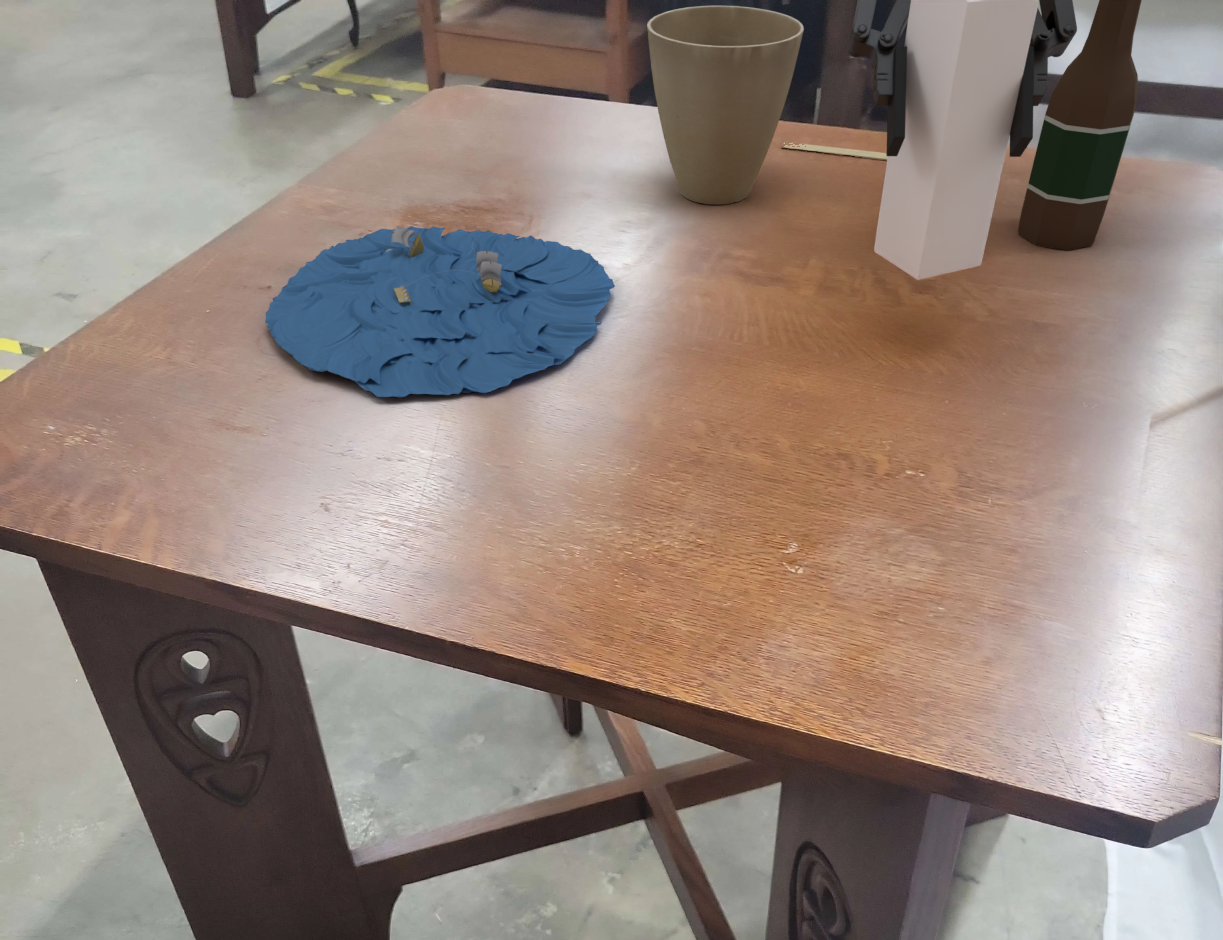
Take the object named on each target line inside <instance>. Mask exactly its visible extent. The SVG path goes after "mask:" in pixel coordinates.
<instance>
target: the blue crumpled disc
mask: <svg viewBox="0 0 1223 940" xmlns="http://www.w3.org/2000/svg"><path fill="white" fill-rule="evenodd" d="M445 229H446V227H437V226H431V227H429V228H427V227H415V226H409V227H404V226H400V225H397V226H396V227H395V228H392V229H391V228H390V229H388V228H380V229H378V230H375V231H374V232H373V231H372V232H371V233H366V234H365V235H364V236H363V237H359V238H354V239H346V240H345V241H344V242H339V243H337V244H336V245H332V246H331V247H329V248H326V249H322V250H321V251H320V252H319V253H318V254H317V255H316V256H315V258H314V259H313V260H309V261H306V262H305V264H304V266H301V267H300V268H299V269H298V270H297V272H296V274H294V275H293V276H291V277H290V278H288V280H287V283H286V284H285V285H284V286H282V288H281V290H280V292H279V293H278V295H277V296H275V297H273V298H272V301H271V302H270V303H269V305H268V306H269V307H268V310H267V311H266V312H265V320H264V322H265V323H266V325H267V330H268V331H269V332H270V336H271V337H272V338H273V339H274V341H275V342H276V344H277V345H278V346H279V347H280V348H281V349H283V350H284V351H285V352H286V353H288V354H289V355H290V356H292V358H293V359H294V360H295V361H296V362H297V363H299V364H300V365H301V366H303V367H306V368H307V369H309V370H310V371H311V372H321V373H323V372H325V371H328V372H330V373H332V374H335V375H339V376H340V377H343V378H344V379H345V378H346V379H350V380H352V381H354V382H355V383H356V384H357V385H358V386H359V387H360V388H361V389H362V390H363V391H364V392H365V391H368V392H371V393H372V394H373V395H374V396H375V397H377V398H390V397H391V398H392V397H396V398H405V397H408V396H409V395H411V394H413V395H424V394H425V395H427V394H428V395H445V396H450V395H453V394H454V395H460V394H461V393H465V394H469V393H473V392H475V393H481V394H487V393H489V392H493V391H495V390H497V389H499V388H503V387H507V386H509V385H510V384H511V382H512V381H513V380H515V379H516V380H517V379H521V378H522V377H524V376H527V375H529V374H533V373H537V372H539V371H544V370H546V369H547V368H548V367H551V366H554V365H561V364H562V363H564V362H565V361H567V359H568V358H569V357H572V356H574V353H575V351H576V349H577V348H578V347H580V346H582V344H584V343H585V342H587V341H589V340H590V339H591V338H594V336H595V335H596V333H598V326H601V325H602V324H603V321H599V322H596V318H597V316H598V315H599V314H600V312H601V310H602V309H603V308H605V306H606V305H607V303H608V302H609V300H610V298H611V297H612V296H611V289H613V288H615V287H616V285H615V284H614V283H615V282H614V280H613V279H612V278H610V276H609V275H608V273H607V272H606V271H605V267H604V265H602V264H601V263H599V260H597V259H595V258H594V257H593V256H592V254H591V253H589V252H586V251H584V250H582V249H581V248H580V249H573V248H572V247H571V246H568V245H564V244H563V245H562V244H561V243H560V242H559V241H551V240H546V241H544V240H543V238H535V237H534V236H533V235H529V236H527V237H526V236H520V235H515V234H512V233H505V234H503V233H497V232H492V231H490V230H486V231H485V230H484V231H483V230H480V229H476V230H471V231H469V230H465V229H457V230H454V231H450V232H448V233H445V234H444V235H442V234H443V231H444V230H445Z"/></svg>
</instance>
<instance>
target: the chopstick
mask: <svg viewBox="0 0 1223 940" xmlns="http://www.w3.org/2000/svg"><path fill="white" fill-rule="evenodd" d="M793 143H794V142H791V143H789V144H793ZM783 144H785V142H784V143H783ZM802 144H804V145H802ZM792 146H795V147H792ZM797 146H800V147H797ZM805 146H806V147H805ZM784 147H786V148H790V149H793V148H794V149H803V150H808V151H818V152H825V153H834V154H841V155H840V156H842V155H851V156H855V157H854V158H859V157H862V158H861V159H867V160H868V159H869V160H878V161H886V162H887V159H888V156H886V154H887V152H879V151H871V150H861V149H852V148H844V147H836V146H835V147H834V146H827V145H818V144H817V145H816V144H809V143H800V144H799V145H795V144H793V145H790V146H788V145H785V146H784ZM851 156H850V157H851Z"/></svg>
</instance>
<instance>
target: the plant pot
mask: <svg viewBox="0 0 1223 940" xmlns="http://www.w3.org/2000/svg"><path fill="white" fill-rule="evenodd" d="M804 27H805V26H804V25H803V23H802V22H800V20H798V19H796V18H794V17H793V16H790V15H788V14H785V13H782V12H778V11H773V10H770V9H763V8H758V7H757V8H756V7H750V6H739V5H700V6H699V5H698V6H690V7H689V6H688V7H682V8H677V9H676V8H675V9H672V10H668V11H664V12H662V13H659V14H657V15H655V16H653V17H652V18H650V19H649V20H648V21H647V23H646V28H647V29H646V30H647V39H648V48H649V58H650V68H651V74H652V82H653V89H654V96H655V101H656V106H657V112H658V117H659V122H660V126H661V131H662V134H663V139H664V145H665V147H666V151H667V155H668V158H669V161H670V165H671V168H672V172H673V175H674V179H675V181H676V185H677V188H678V190H679V193H680V195H681V196H683V198H685V199H687V200H689V201H692V202H695V203H698V204H705V205H714V206H715V205H731V204H734V202H735V203H739V202H741V201H743V200H745V199H746V198H747V197H748V196H749V194H750V193H751V191H752V189H753V187H754V185H755V182H756V180H757V178H758V176H759V173H760V171H761V169H762V167H763V164H764V162H765V159H766V157H767V155H768V152H769V150H770V146H771V144H772V142H773V139H774V137H775V133H776V130H777V128H778V125H779V123H780V119H781V116H782V112H783V110H784V107H785V104H786V101H787V98H788V97H787V96H788V94H789V91H790V88H791V84H792V79H793V76H794V72H795V68H796V64H797V59H798V56H799V52H800V47H801V43H802V39H803V34H804V30H805V28H804ZM744 198H745V199H744Z"/></svg>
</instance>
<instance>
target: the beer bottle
mask: <svg viewBox="0 0 1223 940" xmlns="http://www.w3.org/2000/svg"><path fill="white" fill-rule="evenodd" d="M1141 5H1142V0H1098V3H1097V7H1096V9H1095V13H1094V16H1093V19H1092V21H1091V26H1090V29H1089V32H1088V36H1087V37H1086V40H1085V42H1084V45H1083V47H1082V49H1081V51H1080V53H1079V54H1077V56H1076V57H1075V58H1073V60H1072V61H1071V62H1070V63H1069V65H1068V66H1067V67H1066V69H1065V70H1064V72H1063V73H1062V75H1061V77H1060V79H1059V80H1058V82H1057V84H1056V85H1055V87H1054V89H1053V91H1052V93H1051V94H1050V98H1049V102H1048V105H1047V107H1046V111H1045V114H1044V118H1043V122H1042V126H1041V130H1040V134H1039V138H1038V141H1037V146H1036V151H1035V154H1034V157H1033V163H1032V167H1031V169H1030V170H1031V171H1030V175H1029V178H1028V183H1027V186H1026V187H1027V188H1026V192H1025V195H1024V199H1023V203H1022V207H1021V211H1020V216H1019V222H1018V226H1017V227H1018V228H1017V233H1018V235H1019V236H1020V237H1022V238H1024V239H1025V240H1027V241H1028V242H1030V243H1031V244H1033V245H1034V246H1036V247H1043V248H1049V249H1056V250H1061V251H1071V250H1077V249H1082V248H1088V247H1089V248H1090V247H1092V245H1093V244H1094V243H1095V241H1096V237H1097V235H1098V232H1099V230H1100V227H1101V224H1102V221H1103V218H1104V216H1105V214H1106V213H1105V212H1106V209H1107V206H1108V202H1109V199H1110V195H1111V192H1112V189H1113V186H1114V182H1115V180H1116V175H1117V173H1118V169H1119V166H1120V163H1121V159H1122V157H1123V152H1124V149H1125V147H1126V142H1127V138H1128V136H1129V132H1130V129H1131V126H1132V122H1133V119H1134V115H1135V112H1136V107H1137V102H1138V97H1139V76H1138V72H1137V68H1136V66H1135V62H1134V60H1133V56H1132V51H1133V44H1134V37H1135V36H1134V35H1135V31H1136V26H1137V22H1138V19H1139V18H1138V17H1139V14H1140V8H1141Z"/></svg>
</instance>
